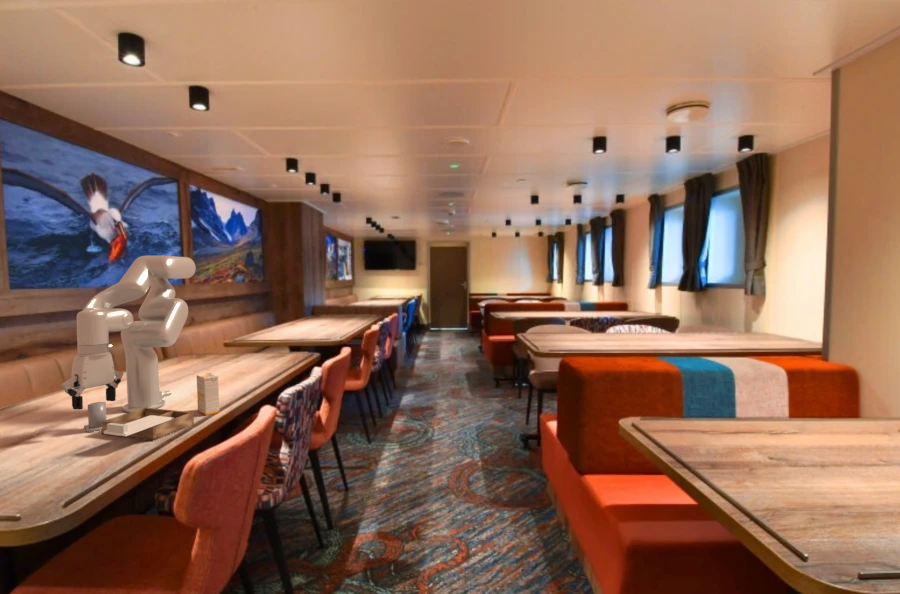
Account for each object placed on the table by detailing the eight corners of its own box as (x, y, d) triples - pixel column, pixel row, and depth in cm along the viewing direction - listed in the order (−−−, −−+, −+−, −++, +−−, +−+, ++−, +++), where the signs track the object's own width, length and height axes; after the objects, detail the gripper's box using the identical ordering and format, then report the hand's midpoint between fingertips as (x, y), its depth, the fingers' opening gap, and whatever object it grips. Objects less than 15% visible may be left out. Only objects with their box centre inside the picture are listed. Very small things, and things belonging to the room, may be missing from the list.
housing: (145, 419, 145) (145, 407, 144) (193, 424, 139) (193, 412, 139) (102, 434, 131) (101, 421, 131) (153, 440, 126) (153, 427, 126)
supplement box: (220, 412, 151) (219, 375, 151) (205, 415, 148) (203, 378, 147) (212, 407, 157) (210, 372, 156) (197, 410, 153) (195, 374, 153)
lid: (150, 417, 133) (150, 408, 133) (171, 419, 131) (170, 410, 131) (103, 433, 120) (103, 424, 120) (125, 436, 118) (125, 426, 118)
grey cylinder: (96, 424, 140) (95, 400, 139) (113, 426, 138) (112, 402, 137) (77, 430, 134) (76, 405, 134) (95, 433, 132) (93, 407, 132)
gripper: (112, 345, 143) (114, 397, 144) (52, 353, 127) (54, 411, 127) (130, 346, 141) (131, 398, 142) (71, 354, 125) (72, 413, 125)
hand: (94, 404), depth 134 cm, fingers open, 9 cm apart
